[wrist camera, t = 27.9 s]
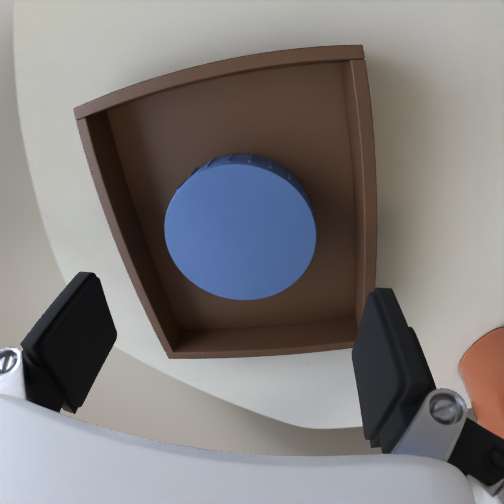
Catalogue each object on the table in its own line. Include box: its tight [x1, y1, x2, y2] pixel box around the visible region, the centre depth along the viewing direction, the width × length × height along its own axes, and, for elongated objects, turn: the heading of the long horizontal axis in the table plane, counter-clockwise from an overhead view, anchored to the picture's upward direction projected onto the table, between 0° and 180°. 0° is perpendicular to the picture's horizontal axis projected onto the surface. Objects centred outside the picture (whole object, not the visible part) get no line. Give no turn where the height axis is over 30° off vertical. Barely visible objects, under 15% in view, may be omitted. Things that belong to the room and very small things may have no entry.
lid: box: [165, 153, 317, 300], centre depth 15 cm, size 7×7×2 cm
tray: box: [73, 45, 377, 359], centre depth 15 cm, size 15×12×3 cm
